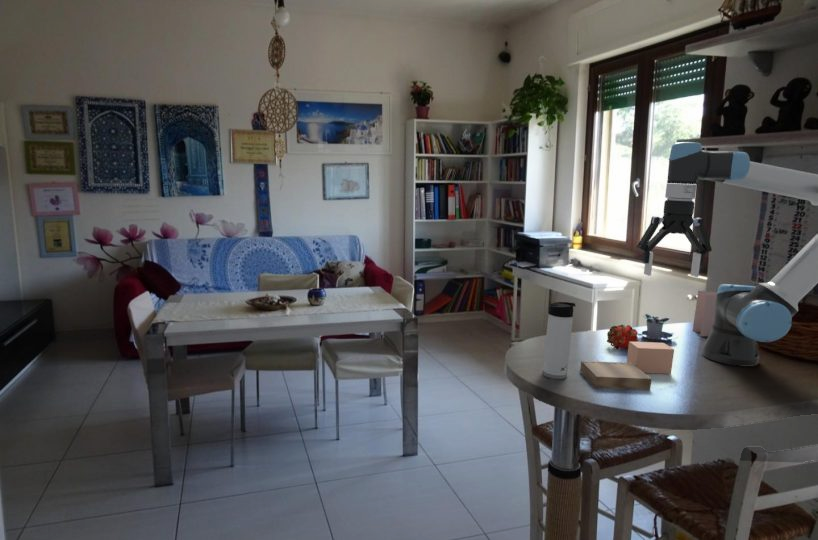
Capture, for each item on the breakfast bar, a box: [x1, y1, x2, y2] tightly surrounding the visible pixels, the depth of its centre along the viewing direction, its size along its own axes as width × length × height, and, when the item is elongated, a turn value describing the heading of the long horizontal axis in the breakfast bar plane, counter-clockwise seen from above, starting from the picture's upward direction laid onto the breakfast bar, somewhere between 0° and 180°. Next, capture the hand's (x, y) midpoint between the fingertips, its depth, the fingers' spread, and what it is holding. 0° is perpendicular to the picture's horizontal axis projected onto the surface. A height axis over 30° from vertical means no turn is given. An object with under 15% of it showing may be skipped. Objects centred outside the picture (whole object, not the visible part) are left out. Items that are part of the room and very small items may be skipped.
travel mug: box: [542, 301, 576, 380], centre depth 147 cm, size 6×7×20 cm
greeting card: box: [692, 290, 717, 337], centre depth 196 cm, size 11×7×15 cm, turn 66°
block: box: [626, 341, 675, 375], centre depth 156 cm, size 10×6×7 cm, turn 91°
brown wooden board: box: [579, 360, 652, 391], centre depth 147 cm, size 14×12×3 cm
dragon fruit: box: [606, 324, 640, 351], centre depth 175 cm, size 8×8×12 cm
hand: (670, 275), depth 157 cm, fingers open, 13 cm apart
